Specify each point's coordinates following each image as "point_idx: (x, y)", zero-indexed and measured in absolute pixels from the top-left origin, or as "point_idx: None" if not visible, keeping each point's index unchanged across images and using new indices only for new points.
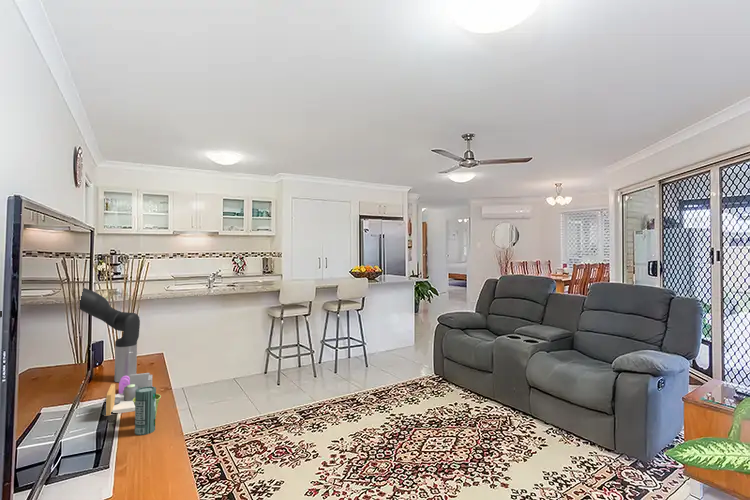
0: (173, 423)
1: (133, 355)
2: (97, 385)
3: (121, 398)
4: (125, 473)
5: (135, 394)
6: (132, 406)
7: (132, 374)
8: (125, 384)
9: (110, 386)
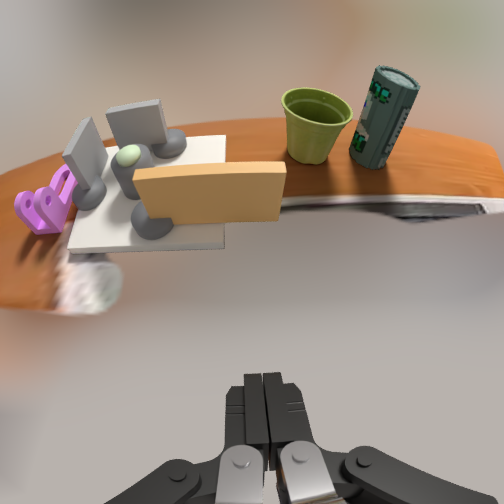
0: None
1: None
2: None
3: (119, 208)
4: (486, 187)
5: (404, 98)
6: None
7: (64, 151)
8: (52, 199)
9: (164, 176)
